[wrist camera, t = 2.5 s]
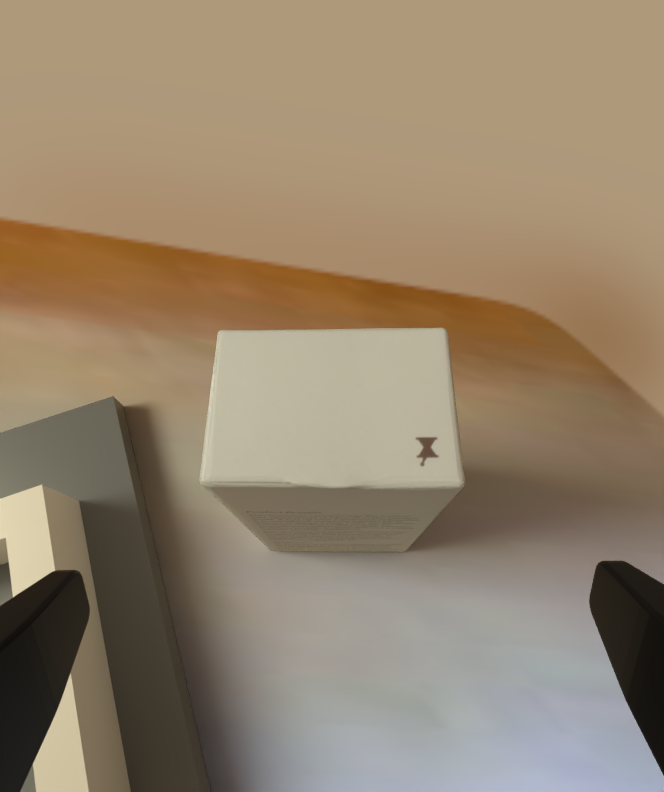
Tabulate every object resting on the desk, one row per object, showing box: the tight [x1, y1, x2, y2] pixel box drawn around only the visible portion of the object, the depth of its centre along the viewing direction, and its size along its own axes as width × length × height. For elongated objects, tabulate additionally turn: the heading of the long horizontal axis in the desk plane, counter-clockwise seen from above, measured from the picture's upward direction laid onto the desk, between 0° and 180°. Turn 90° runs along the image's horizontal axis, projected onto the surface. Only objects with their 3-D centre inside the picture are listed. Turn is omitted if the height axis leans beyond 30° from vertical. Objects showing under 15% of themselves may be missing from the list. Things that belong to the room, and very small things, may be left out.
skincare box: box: [200, 328, 465, 552], centre depth 18 cm, size 6×4×12 cm
